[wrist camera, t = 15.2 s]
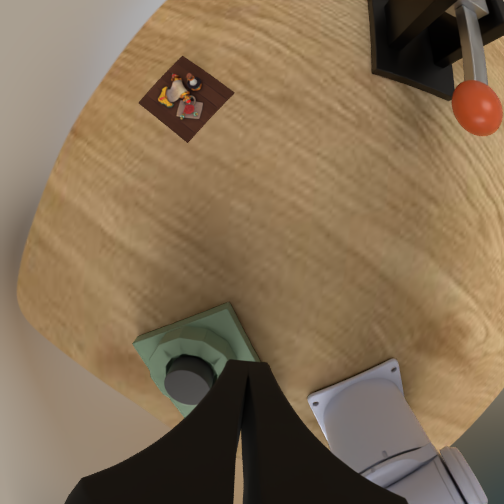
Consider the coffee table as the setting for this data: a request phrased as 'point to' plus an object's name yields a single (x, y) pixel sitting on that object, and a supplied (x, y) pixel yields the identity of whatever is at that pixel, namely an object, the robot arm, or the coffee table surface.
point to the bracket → (423, 41)
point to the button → (189, 380)
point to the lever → (474, 74)
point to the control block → (195, 345)
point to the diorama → (185, 98)
